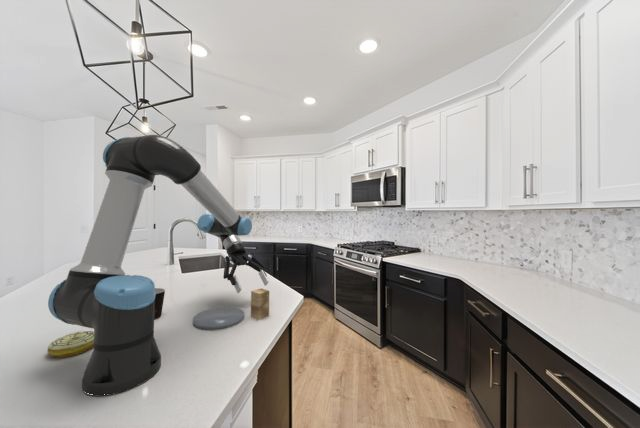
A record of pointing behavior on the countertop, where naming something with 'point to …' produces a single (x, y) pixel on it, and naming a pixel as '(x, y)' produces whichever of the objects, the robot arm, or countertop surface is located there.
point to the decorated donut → (71, 344)
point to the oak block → (259, 303)
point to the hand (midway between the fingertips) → (254, 287)
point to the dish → (218, 318)
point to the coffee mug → (159, 302)
